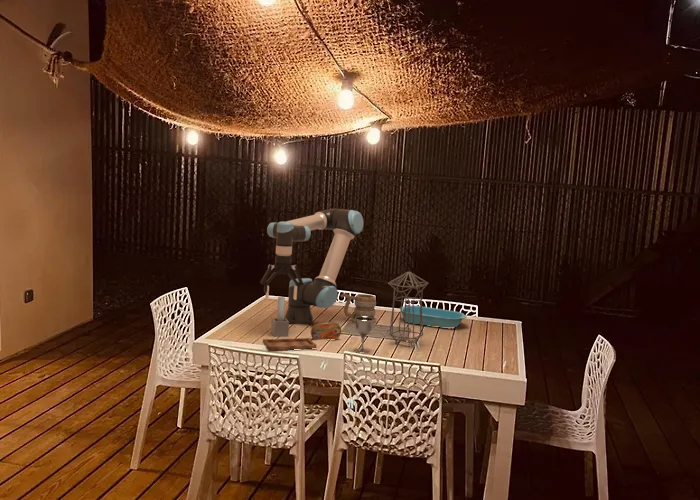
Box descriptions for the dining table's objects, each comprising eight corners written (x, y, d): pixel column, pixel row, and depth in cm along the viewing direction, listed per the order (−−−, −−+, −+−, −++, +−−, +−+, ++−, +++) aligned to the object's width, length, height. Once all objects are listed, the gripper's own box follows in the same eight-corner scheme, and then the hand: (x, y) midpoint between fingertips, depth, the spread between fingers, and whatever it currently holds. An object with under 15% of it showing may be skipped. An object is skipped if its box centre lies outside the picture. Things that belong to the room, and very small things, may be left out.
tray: (308, 342, 308) (308, 338, 307) (316, 349, 296) (316, 345, 296) (262, 343, 300) (262, 339, 300) (269, 351, 288) (269, 347, 288)
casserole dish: (469, 324, 366) (470, 312, 366) (461, 333, 346) (462, 319, 345) (405, 315, 379) (405, 303, 378) (393, 323, 358) (394, 310, 357)
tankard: (375, 319, 363) (377, 292, 362) (375, 324, 351) (377, 297, 349) (339, 317, 364) (341, 290, 362) (338, 322, 351) (339, 294, 350)
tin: (312, 342, 309) (313, 324, 308) (309, 340, 311) (310, 322, 310) (340, 340, 316) (342, 322, 314) (338, 338, 318) (339, 321, 317)
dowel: (282, 333, 317) (283, 296, 315) (283, 335, 314) (285, 298, 312) (275, 334, 316) (277, 297, 313) (277, 335, 313) (279, 298, 310)
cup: (284, 334, 319) (285, 318, 318) (288, 338, 313) (288, 321, 312) (271, 334, 317) (271, 318, 316) (274, 338, 311) (275, 321, 310)
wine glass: (352, 348, 302) (354, 316, 300) (369, 348, 303) (372, 316, 301) (354, 353, 294) (356, 320, 293) (371, 353, 295) (374, 320, 293)
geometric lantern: (413, 350, 305) (416, 275, 301) (383, 344, 313) (386, 271, 309) (427, 343, 318) (431, 271, 314) (398, 338, 327) (401, 268, 322)
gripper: (306, 254, 318) (304, 297, 320) (255, 253, 309) (253, 297, 311) (311, 256, 311) (308, 300, 313) (259, 255, 302) (256, 300, 304)
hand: (280, 299), depth 312 cm, fingers open, 13 cm apart
